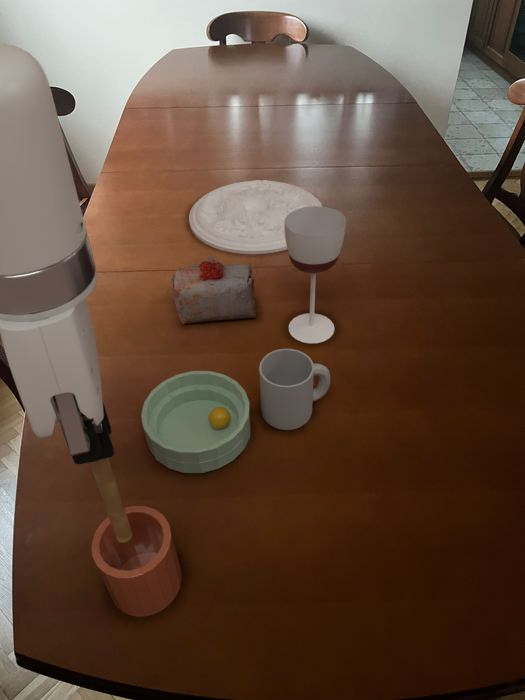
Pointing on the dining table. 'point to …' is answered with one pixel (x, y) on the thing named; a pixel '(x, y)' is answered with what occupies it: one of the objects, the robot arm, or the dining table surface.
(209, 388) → the bowl
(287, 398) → the cup
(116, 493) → the stirring stick
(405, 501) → the dining table surface
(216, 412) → the ball
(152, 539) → the utensil pot
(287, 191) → the ceiling medallion
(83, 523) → the dining table surface
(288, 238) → the wineglass
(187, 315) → the food item
